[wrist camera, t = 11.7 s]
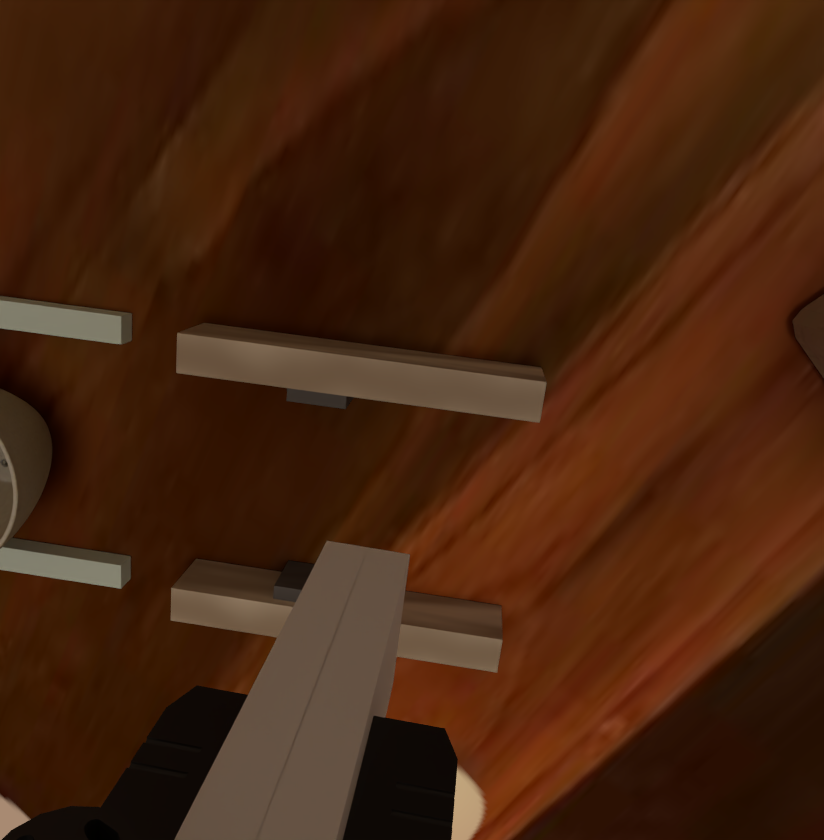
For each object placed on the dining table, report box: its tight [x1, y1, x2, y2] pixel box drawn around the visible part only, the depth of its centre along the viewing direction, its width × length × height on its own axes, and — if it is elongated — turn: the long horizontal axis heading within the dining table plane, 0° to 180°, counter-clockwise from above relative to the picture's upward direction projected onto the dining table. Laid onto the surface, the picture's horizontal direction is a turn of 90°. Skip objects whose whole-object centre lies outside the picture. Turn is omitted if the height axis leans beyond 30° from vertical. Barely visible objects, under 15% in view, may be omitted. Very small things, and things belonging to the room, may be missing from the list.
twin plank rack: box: [171, 323, 547, 672], centre depth 39 cm, size 16×18×4 cm
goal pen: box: [0, 296, 132, 589], centre depth 41 cm, size 16×13×1 cm
